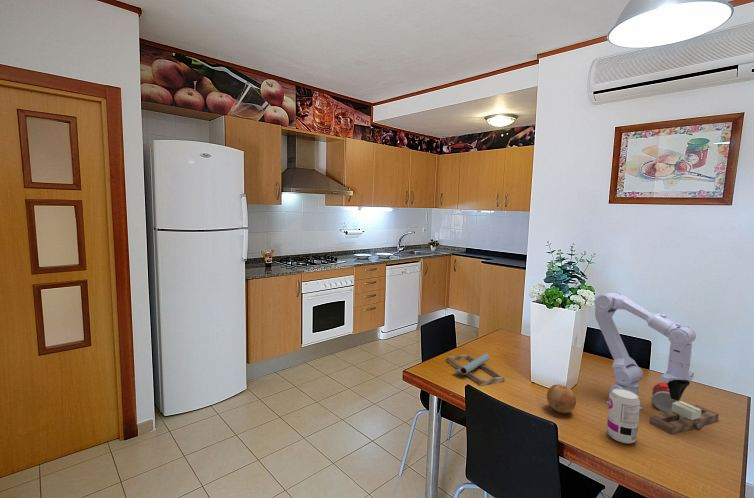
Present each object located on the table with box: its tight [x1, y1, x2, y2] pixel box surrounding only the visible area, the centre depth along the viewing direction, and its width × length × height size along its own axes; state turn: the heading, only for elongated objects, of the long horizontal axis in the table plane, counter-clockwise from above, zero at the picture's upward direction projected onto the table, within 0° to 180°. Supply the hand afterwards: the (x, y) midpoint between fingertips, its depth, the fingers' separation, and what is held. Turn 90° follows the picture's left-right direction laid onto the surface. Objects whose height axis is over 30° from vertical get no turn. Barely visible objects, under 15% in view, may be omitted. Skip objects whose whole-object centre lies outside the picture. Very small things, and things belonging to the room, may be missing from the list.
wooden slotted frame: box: [649, 404, 720, 435], centre depth 131 cm, size 26×10×2 cm, turn 111°
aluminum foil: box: [453, 353, 490, 376], centre depth 170 cm, size 23×7×3 cm, turn 138°
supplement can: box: [606, 389, 641, 445], centre depth 120 cm, size 8×8×15 cm
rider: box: [671, 400, 701, 420], centre depth 131 cm, size 5×6×6 cm
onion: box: [546, 383, 577, 414], centre depth 136 cm, size 10×10×10 cm
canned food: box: [651, 382, 680, 413], centre depth 142 cm, size 8×8×11 cm
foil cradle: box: [445, 354, 506, 387], centre depth 170 cm, size 12×28×2 cm, turn 21°
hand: (675, 399), depth 128 cm, fingers closed
